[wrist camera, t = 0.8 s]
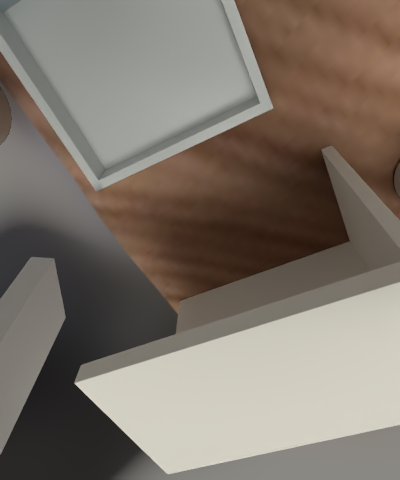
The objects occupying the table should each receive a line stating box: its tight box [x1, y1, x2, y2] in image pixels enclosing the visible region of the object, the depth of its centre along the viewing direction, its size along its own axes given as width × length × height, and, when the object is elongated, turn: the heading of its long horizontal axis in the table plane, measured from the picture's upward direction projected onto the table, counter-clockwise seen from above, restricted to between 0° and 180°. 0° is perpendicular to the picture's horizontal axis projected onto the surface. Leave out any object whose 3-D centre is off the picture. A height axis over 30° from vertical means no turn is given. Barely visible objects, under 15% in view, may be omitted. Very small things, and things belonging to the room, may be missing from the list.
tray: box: [0, 0, 273, 191], centre depth 25 cm, size 16×17×11 cm
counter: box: [75, 145, 400, 474], centre depth 31 cm, size 12×22×19 cm, turn 116°
